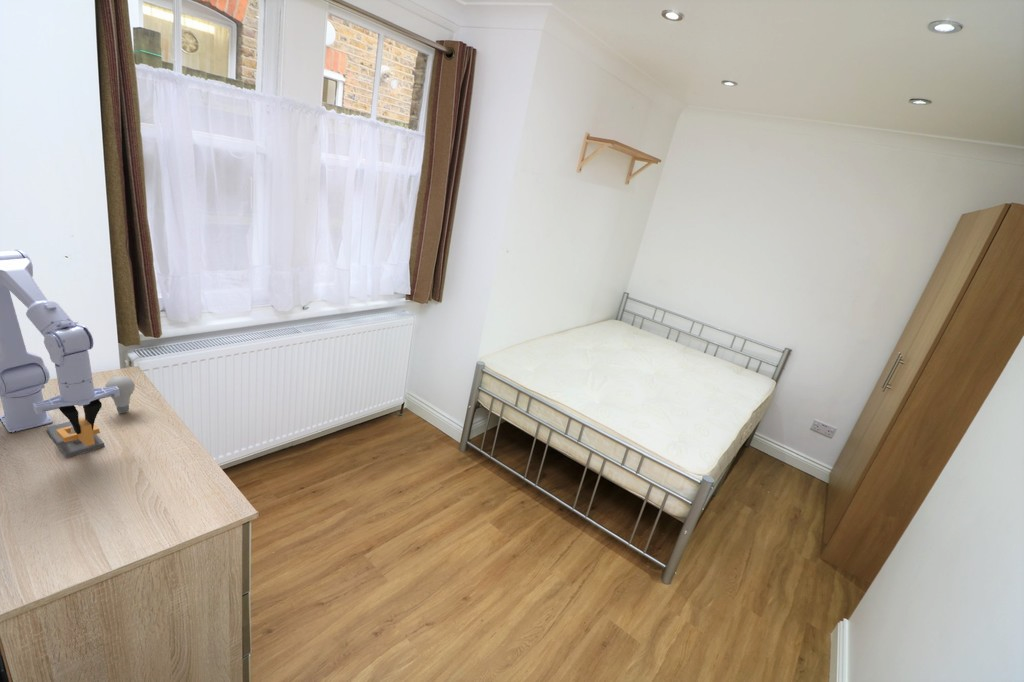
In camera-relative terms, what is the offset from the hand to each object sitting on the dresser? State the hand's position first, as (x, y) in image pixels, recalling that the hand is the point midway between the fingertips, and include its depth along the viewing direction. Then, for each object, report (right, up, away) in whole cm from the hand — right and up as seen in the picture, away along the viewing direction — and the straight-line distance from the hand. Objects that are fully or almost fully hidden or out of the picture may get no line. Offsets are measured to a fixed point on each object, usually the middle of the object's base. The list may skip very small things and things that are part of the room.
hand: (83, 430), depth 110 cm
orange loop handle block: (-2, -2, +2) cm, 4 cm away
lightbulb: (-7, +1, +19) cm, 21 cm away
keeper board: (-8, -3, +6) cm, 11 cm away
